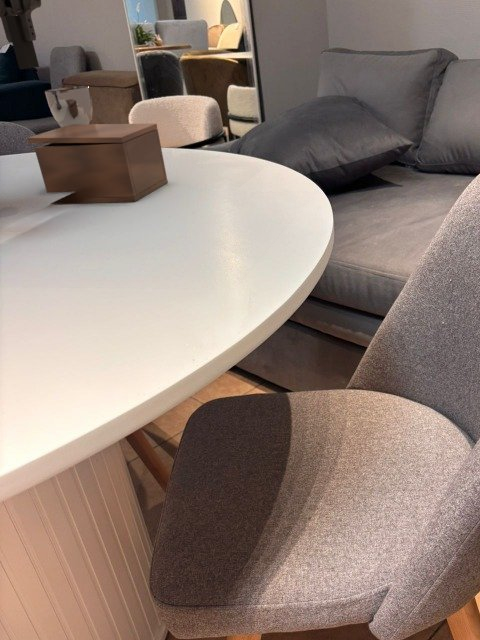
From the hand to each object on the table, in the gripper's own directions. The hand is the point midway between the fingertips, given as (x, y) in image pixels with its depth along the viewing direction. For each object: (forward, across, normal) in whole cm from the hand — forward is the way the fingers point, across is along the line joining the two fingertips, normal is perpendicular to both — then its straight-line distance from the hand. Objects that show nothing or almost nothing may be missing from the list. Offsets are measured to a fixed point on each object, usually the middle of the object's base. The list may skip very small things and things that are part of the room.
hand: (29, 67), depth 92 cm
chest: (+20, +4, +8) cm, 22 cm away
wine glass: (+20, -11, +26) cm, 35 cm away
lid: (+11, +3, +8) cm, 14 cm away
